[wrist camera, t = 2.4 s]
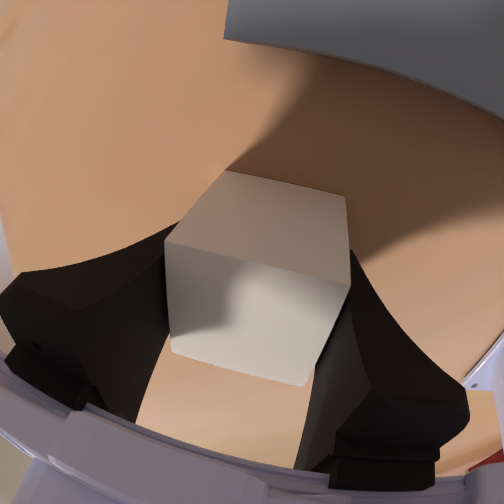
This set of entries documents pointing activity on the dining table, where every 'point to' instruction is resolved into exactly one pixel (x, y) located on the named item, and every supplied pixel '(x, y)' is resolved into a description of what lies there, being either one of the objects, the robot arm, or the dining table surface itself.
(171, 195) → the dining table surface
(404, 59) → the slate board
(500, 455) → the hardcover book
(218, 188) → the cream block
